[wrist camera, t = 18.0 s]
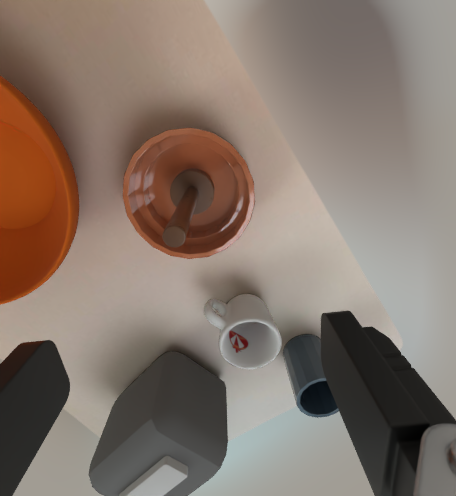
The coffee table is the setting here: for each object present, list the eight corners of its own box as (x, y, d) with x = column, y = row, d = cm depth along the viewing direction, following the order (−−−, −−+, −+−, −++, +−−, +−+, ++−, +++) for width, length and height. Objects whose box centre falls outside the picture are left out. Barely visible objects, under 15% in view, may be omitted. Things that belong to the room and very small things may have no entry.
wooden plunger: (211, 166, 36) (206, 196, 20) (216, 207, 38) (215, 266, 22) (169, 170, 36) (128, 204, 20) (176, 211, 38) (144, 274, 22)
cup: (192, 308, 44) (187, 344, 37) (221, 268, 42) (221, 297, 35) (251, 339, 47) (258, 379, 39) (282, 302, 45) (294, 336, 37)
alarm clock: (164, 427, 53) (143, 537, 39) (111, 396, 50) (67, 503, 36) (225, 373, 49) (228, 475, 35) (171, 336, 46) (150, 430, 32)
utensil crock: (326, 331, 47) (350, 375, 38) (325, 366, 49) (347, 414, 41) (282, 336, 47) (296, 381, 38) (283, 370, 49) (296, 419, 41)
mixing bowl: (244, 122, 35) (249, 120, 30) (252, 235, 40) (258, 251, 35) (125, 135, 35) (108, 136, 30) (149, 246, 41) (138, 264, 35)
